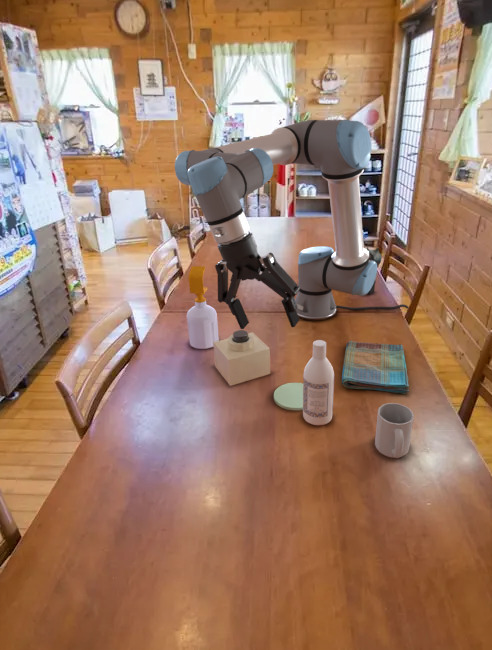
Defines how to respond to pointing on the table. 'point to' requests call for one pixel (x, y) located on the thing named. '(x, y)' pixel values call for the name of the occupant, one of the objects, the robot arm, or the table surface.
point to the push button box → (242, 359)
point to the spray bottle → (201, 314)
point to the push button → (240, 336)
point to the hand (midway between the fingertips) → (269, 325)
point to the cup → (393, 429)
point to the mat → (289, 396)
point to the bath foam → (318, 387)
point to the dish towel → (375, 367)
